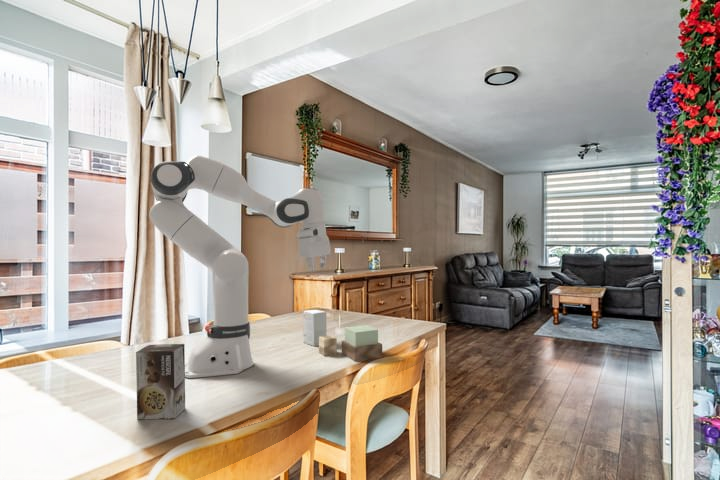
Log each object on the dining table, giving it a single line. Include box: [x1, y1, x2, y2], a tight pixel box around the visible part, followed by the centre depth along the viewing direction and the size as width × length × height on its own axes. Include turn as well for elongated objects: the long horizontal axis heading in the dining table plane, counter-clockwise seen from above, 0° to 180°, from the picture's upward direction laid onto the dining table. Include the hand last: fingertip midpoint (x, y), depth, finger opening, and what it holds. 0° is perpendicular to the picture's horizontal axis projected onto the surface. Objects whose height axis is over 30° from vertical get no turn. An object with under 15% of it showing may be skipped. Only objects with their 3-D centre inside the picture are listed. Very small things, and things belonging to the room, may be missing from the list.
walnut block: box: [341, 340, 383, 362], centre depth 142 cm, size 11×11×5 cm
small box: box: [302, 309, 328, 347], centre depth 159 cm, size 8×6×13 cm
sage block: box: [344, 324, 379, 347], centre depth 142 cm, size 9×9×5 cm
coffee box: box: [135, 343, 186, 420], centre depth 94 cm, size 9×6×16 cm
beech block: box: [318, 334, 338, 357], centre depth 144 cm, size 5×5×6 cm
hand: (317, 268), depth 145 cm, fingers open, 8 cm apart
